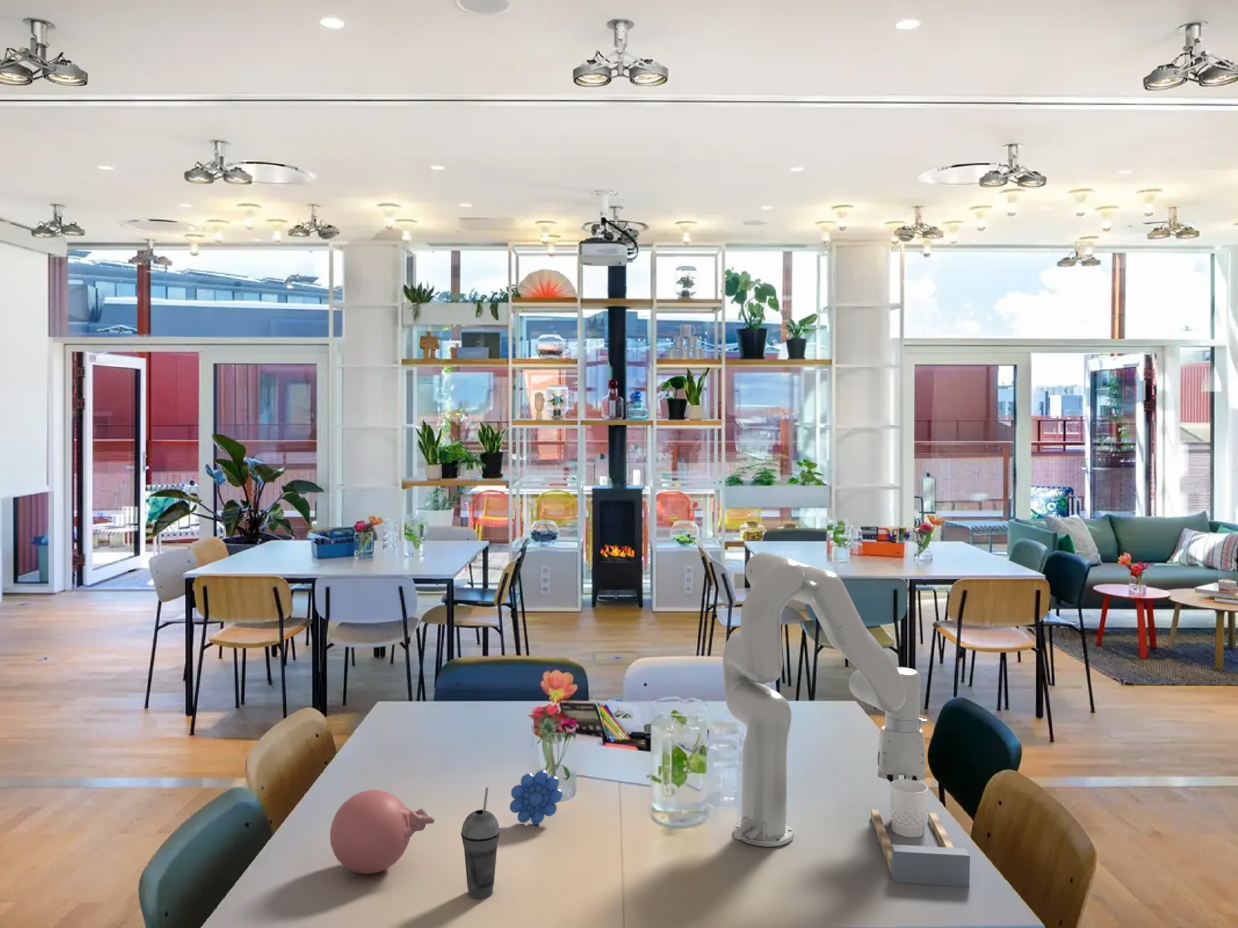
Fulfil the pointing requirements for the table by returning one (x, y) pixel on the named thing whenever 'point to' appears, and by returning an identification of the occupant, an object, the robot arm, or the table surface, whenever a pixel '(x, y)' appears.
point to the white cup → (908, 807)
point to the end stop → (930, 865)
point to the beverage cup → (480, 851)
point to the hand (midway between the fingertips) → (901, 803)
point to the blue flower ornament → (535, 797)
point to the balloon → (374, 831)
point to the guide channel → (885, 839)
